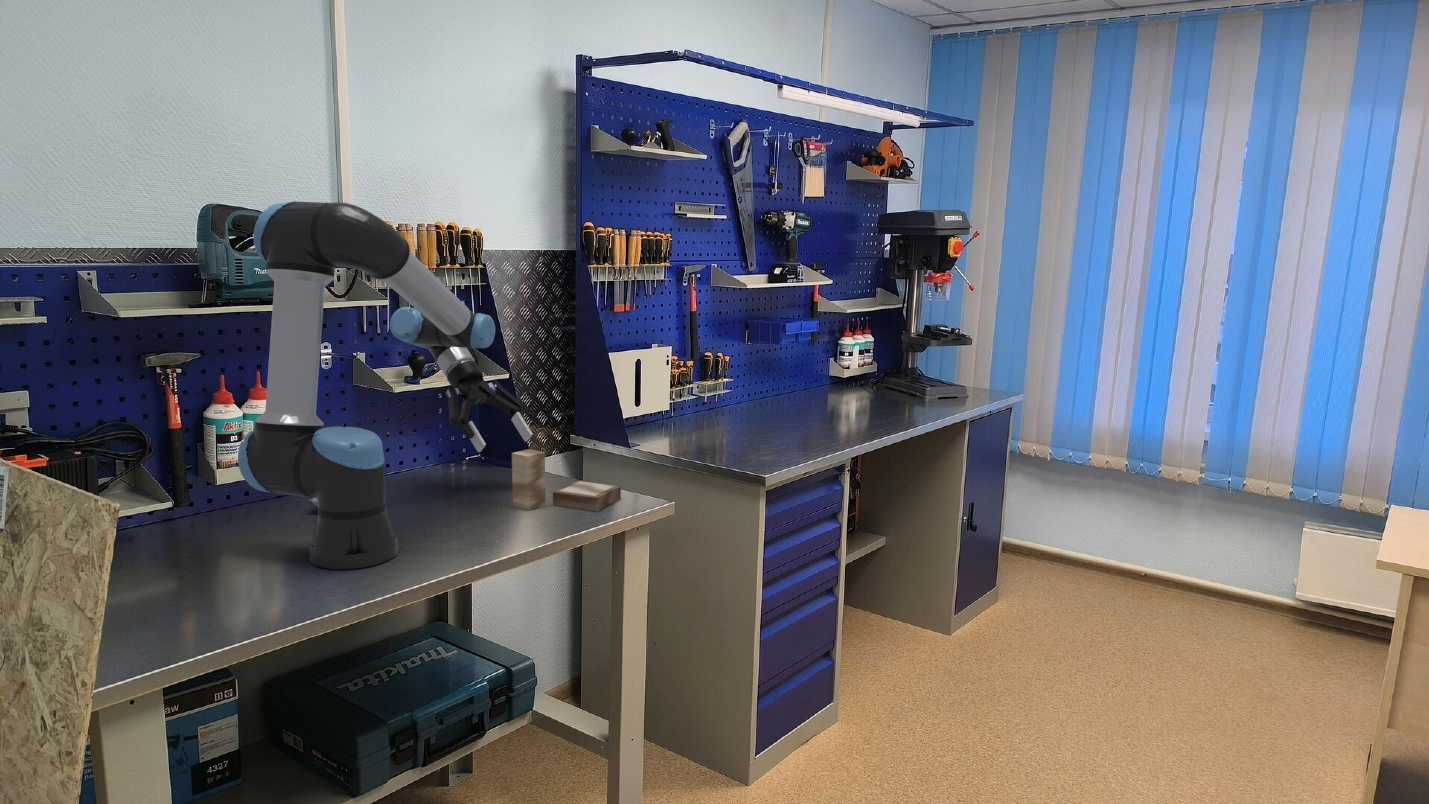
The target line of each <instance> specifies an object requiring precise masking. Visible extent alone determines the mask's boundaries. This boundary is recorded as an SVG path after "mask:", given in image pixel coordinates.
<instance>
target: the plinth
mask: <svg viewBox="0 0 1429 804" xmlns="http://www.w3.org/2000/svg"><path fill="white" fill-rule="evenodd" d="M621 487H622V486H621V485H618V484H617V485H615V484H607V483H601V482H593V481H585V480H577V481H574V482H571V483H570V484H567V485H565V486H563V487H561V488H559V489H557V490H555V491H552V506H555V507H561V508H562V507H563V508H569V509H577V510H583V511H590V512H599V511H601V510H603V509H605V508H606V507H608V506H610V505H611V504H613V503H616V502H617V501H619V500H621V499H622V497H621V492H622V490H621V489H622V488H621Z"/></svg>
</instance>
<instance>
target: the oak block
mask: <svg viewBox="0 0 1429 804" xmlns="http://www.w3.org/2000/svg"><path fill="white" fill-rule="evenodd" d="M511 471H512V472H511V475H512V477H511V480H512V481H511V482H512V507H514V508H518V509H522V510H524V511H531V510H536V509H539V508H542V507H545V506H546V503H547V502H546V452H544V451H541V450H540V451H539V450H535V449H531V448H530V449H524V450H520V451H515V452H511Z"/></svg>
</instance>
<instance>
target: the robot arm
mask: <svg viewBox="0 0 1429 804" xmlns="http://www.w3.org/2000/svg"><path fill="white" fill-rule="evenodd" d="M253 245H254V249H255V250H257V253H256V254H257V256H258V257H259V258H260V260H262V261H263V262H264V263H265V264H266V265H265V266H266V267H265V272H266V273H267V275H268V276H269V277H270V278H271V280H272V281H273V282H274V283H273V298H272V299H273V300H272V314H271V325H270V326H271V328H270V340H269V356H268V368H267V369H268V370H267V379H266V380H267V381H266V382H267V383H266V397H265V398H266V399H265V409H264V410H265V411H264V412H263V413H262V414H260V416H259V417H257V418H256V419H255V421H254V423H255V424H254V429H253V430H251V431H249V432H248V433H247V434H246V435H245V436H244V440H242V441H241V442H240V443H239V448H238V451H237V463H238V469H239V472H240V475H241V476H242V477H243V479H244V480H245V481H246V482H247V484H248V485H249V486H250V487H252V488H253V489H254V490H258V491H260V492H265V493H269V494H272V495H277V496H278V495H286V496H297V497H303V498H310V499H312V498H317V506H316V507H317V521H316V525H315V528H314V532H313V537H312V542H311V544H310V546H309V561H310V563H311V564H312V565H313V566H316V567H318V568H322V569H329V570H353V569H361V568H368V567H372V566H376V565H379V564H382V563H385V562H388V561H390V560H391V559H393V558H394V557H396V556H397V554H398V548H399V547H398V538H397V537H396V535H395V534H394V532H393V528H392V524H391V522H390V519H389V517H388V515H387V507H386V506H387V505H386V504H387V503H386V485H385V484H386V483H385V482H386V481H385V480H386V479H385V459H386V458H385V457H386V456H385V454H384V448H383V441H382V440H381V437H380V436H379V435H378V434H376V432H373V431H371V430H369V429H365V428H361V427H356V426H355V427H354V426H328V427H324V426H325V425H324V423H325V422H323V421H322V420H321V419H320V418H319V416H318V415H317V403H318V402H317V401H318V388H319V387H318V386H319V375H320V373H319V372H320V361H321V358H320V357H321V348H322V347H321V346H322V345H321V343H322V330H323V318H324V304H325V303H324V302H325V301H324V300H325V289H326V287H327V286H328V285H329V284H330V283H332V281H334V280H335V269H336V268H351V269H355V270H359V271H361V272H364V273H366V274H367V275H368V276H369V277H370V278H371V279H374V280H377V281H379V280H380V281H383V282H384V283H385V284H386V285H388V286H389V287H390V288H392V290H393V291H395V292H396V293H397V294H398V295H400V297H402V298H403V299H404V300H405V301H406V302H407V303H409V305H411V306H412V307H411V306H403V307H400V308H398V309H397V310H395V312H394V313H393V314H392V316H391V317H390V322H389V329H390V332H391V333H392V336H394V337H395V338H396V339H398V340H400V341H402V342H404V343H405V344H406V343H408V344H410V345H413V346H416V347H419V348H422V349H426V350H427V351H429V352H430V354H431V355H432V357H433V359H434V360H435V361H436V362H435V363H436V364H437V365H438V366H439V368H440V371H442V373H443V375H444V376H445V378H446V380H447V382H448V383H449V385H450V386H449V387H448V389H447V390H446V391H445V392H444V394H445V395H444V396H445V397H446V399H447V401H448V402H447V404H448V405H447V406H448V417H449V426H450V427H451V428H455V427H456V430H457V431H462V432H463V434H464V435H465V437H466V438H467V439H468V440H470V441H471V444H473V447H474V448H475V450H476V452H477V453H481V452H482V451H483V449H484V448H485V447H486V446H487V443H486V442H485V440H484V439H483V437H482V435H481V434H480V432H479V430H478V428H477V426H476V425H475V423H474V422H473V421H472V420H470V421H469V417H470V413H471V407H472V405H473V406H474V405H477V404H486V405H491V406H493V407H495V408H496V409H498V410H499V411H501V412H503V413H505V414H506V415H508V416H510V417H512V418H511V419H510V420H511V422H512V424H513V425H514V427H515V428H516V431H518V433H519V435H520V436H521V438H522V440H523V441H524V443H525V442H528V441H529V440H530V439H531V438H532V436H533V435H534V434H533V432H532V430H531V428H530V427H529V425H528V421H527V420H526V418H525V416H524V415H523V412H524V411H525V409H526V408H527V407H526V404H524V403H522V402H521V401H520V400H519V399H518V398H516V397H515V396H514V395H512V394H511V393H510V392H509V391H508V390H507V389H505V388H504V387H503V386H502V384H501V383H499V381H498V380H497V379H493V380H492V382H489V383H488V382H486V381H485V380H484V374H483V371H482V370H481V368H480V367H479V365H478V364H477V362H476V361H475V359H474V357H473V356H472V354H471V353H470V350H469V349H473V350H474V349H486V348H489V347H490V346H491V345H492V344H493V342H494V339H495V336H496V325H495V321H494V319H493V318H492V316H490V315H488V314H485V313H480V312H477V313H474V312H473V311H472V310H471V309H470V308H469V307H468V306H467V305H466V304H465V303H464V302H462V300H460V299H459V298H458V297H457V296H456V294H454V293H453V292H452V291H451V290H450V289H449V288H448V287H447V286H446V285H445V284H444V283H443V282H442V281H441V280H440V279H439V278H438V277H437V276H436V275H435V274H434V273H433V272H432V271H431V270H430V269H428V268H427V266H425V264H424V263H423V262H421V261H420V260H419V258H417V257H416V255H414V254H413V252H411V250H412V249H411V246H410V243H409V242H408V241H407V239H405V238H404V236H402V235H401V234H400V233H399V232H398V231H397V229H395V228H394V227H392V226H391V225H389V223H387V222H386V221H384V220H383V219H381V218H380V217H378V216H377V215H375V214H373V212H370V211H369V210H367V209H364V208H362V207H360V206H357V205H354V204H350V203H347V202H337V201H335V202H322V201H321V202H318V201H315V202H314V201H295V200H294V201H288V202H278V203H273V204H272V205H270V206H268V207H267V209H265V210H263V211H262V212H261V213H260V214H259V217H258V218H257V220H256V222H255V225H254V229H253ZM489 396H490V397H489ZM459 397H460V398H462V402H461V411H460V406H459V405H460V404H459Z"/></svg>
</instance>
